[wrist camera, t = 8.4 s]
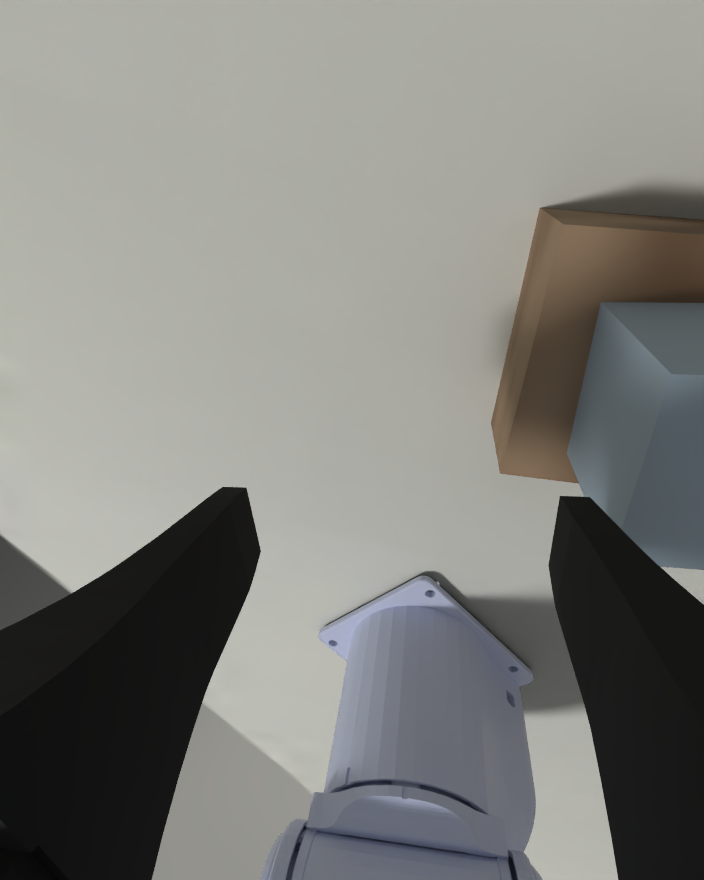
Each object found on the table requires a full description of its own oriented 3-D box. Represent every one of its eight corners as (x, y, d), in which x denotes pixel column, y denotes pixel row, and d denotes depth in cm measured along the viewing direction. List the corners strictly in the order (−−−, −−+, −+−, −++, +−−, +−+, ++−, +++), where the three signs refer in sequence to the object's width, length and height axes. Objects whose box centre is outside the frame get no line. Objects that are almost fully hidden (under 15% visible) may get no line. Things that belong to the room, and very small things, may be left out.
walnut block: (799, 225, 16) (899, 249, 12) (694, 442, 20) (747, 504, 16) (538, 206, 16) (563, 224, 13) (490, 418, 21) (500, 473, 17)
